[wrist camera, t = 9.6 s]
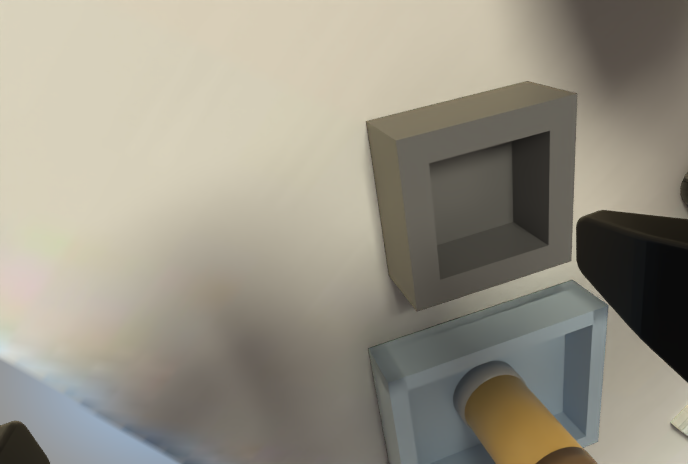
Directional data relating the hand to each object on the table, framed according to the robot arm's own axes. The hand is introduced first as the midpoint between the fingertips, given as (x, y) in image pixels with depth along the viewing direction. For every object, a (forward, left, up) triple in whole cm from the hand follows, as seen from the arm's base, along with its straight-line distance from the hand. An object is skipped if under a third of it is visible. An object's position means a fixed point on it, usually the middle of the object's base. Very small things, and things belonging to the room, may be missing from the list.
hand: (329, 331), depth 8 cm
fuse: (-9, +16, -12) cm, 21 cm away
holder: (-8, +4, -12) cm, 16 cm away
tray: (-9, +16, -12) cm, 22 cm away
